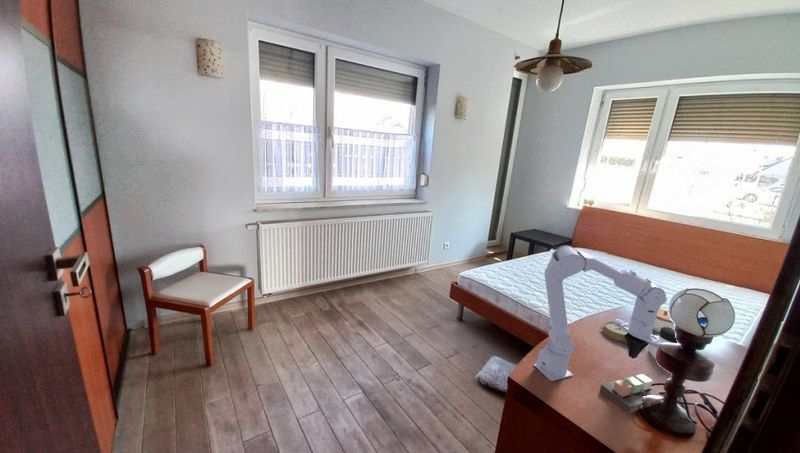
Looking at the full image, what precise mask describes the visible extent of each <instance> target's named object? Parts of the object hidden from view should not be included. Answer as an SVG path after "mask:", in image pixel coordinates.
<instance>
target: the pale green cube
mask: <svg viewBox="0 0 800 453" xmlns="http://www.w3.org/2000/svg"><path fill="white" fill-rule="evenodd" d="M628 377H629V376H628ZM634 377H635V376H634ZM634 377H629V378H626V377H625V378H626V379H625V382H626V383H628V384H629V385H631V386H632V388H631V392H632V393H633V394H634V393H637V392H640V390H641V387H642V383H641V382H640V381H638V380H637V379H635V378H634Z"/></svg>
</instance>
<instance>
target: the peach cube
mask: <svg viewBox="0 0 800 453" xmlns="http://www.w3.org/2000/svg"><path fill="white" fill-rule="evenodd" d="M617 380H618V379H617ZM614 381H615V380H614ZM631 388H632V386H631V385H629V384H628V383H626V382H625V381H624V380H618V381H615V384H614V388H613V390H614V391H616V392H617V393H618V394H619V395H621V396H622V397H624V396H627V395H630V392H631Z"/></svg>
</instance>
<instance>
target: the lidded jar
mask: <svg viewBox="0 0 800 453" xmlns="http://www.w3.org/2000/svg"><path fill="white" fill-rule="evenodd" d="M668 311H669V310H667V309H664V308H659V310H658V313H657V316H656V320H655V323H654V327H653V330H654V331H655V332H657V333H660V330H661V328H662V327H669V328H673V329H674V323H673V322H672V321H671V320H670V318H669V314H668Z"/></svg>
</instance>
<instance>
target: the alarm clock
mask: <svg viewBox="0 0 800 453" xmlns="http://www.w3.org/2000/svg"><path fill="white" fill-rule="evenodd" d="M614 322H615V321H606V322H604V325H603V326H601V327H600V329H601V330H603V333H604V335H605V336H607V337H608V338H610V339H613V340H614V341H618V342H623V343H625V344H626V345H627V342H626V339H625V337H624V336H625V334H627V333H628V332H627V331H626V330H624V329H622V328H620V327H619V326H615V325H614Z"/></svg>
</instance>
